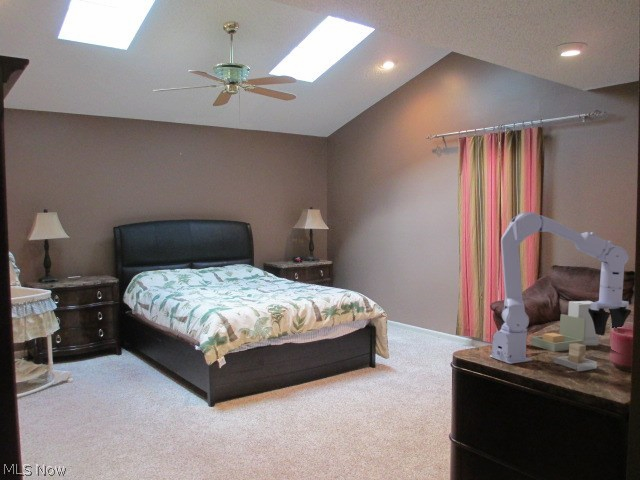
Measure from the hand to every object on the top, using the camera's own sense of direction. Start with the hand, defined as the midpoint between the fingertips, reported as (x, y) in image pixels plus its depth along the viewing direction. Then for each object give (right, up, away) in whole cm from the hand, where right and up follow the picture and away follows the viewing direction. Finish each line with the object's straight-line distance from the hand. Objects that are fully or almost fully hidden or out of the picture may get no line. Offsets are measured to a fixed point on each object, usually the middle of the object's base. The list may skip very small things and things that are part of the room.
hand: (608, 333), depth 143 cm
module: (-6, -8, +21) cm, 23 cm away
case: (-4, -9, +22) cm, 24 cm away
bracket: (-9, -10, 0) cm, 13 cm away
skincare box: (+7, -9, +28) cm, 30 cm away
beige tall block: (-9, -9, 0) cm, 13 cm away
